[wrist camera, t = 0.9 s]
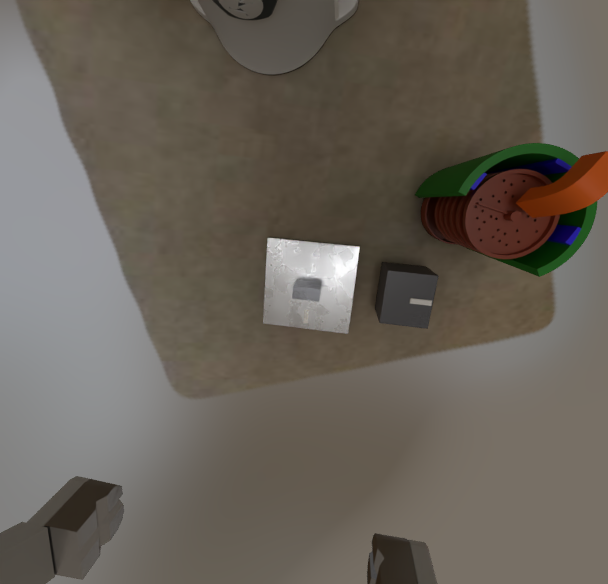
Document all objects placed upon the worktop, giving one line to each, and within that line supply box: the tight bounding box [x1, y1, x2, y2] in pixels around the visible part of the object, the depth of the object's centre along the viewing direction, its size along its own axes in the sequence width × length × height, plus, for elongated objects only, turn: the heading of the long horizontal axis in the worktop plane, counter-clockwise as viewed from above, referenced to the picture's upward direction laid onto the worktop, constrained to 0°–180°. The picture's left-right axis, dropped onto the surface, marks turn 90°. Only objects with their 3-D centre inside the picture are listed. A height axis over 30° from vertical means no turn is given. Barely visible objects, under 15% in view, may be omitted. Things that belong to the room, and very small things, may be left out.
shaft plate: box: [263, 237, 360, 334], centre depth 41 cm, size 12×12×4 cm
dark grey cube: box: [375, 262, 438, 329], centre depth 39 cm, size 6×6×6 cm
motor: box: [415, 143, 608, 277], centre depth 29 cm, size 10×9×20 cm
